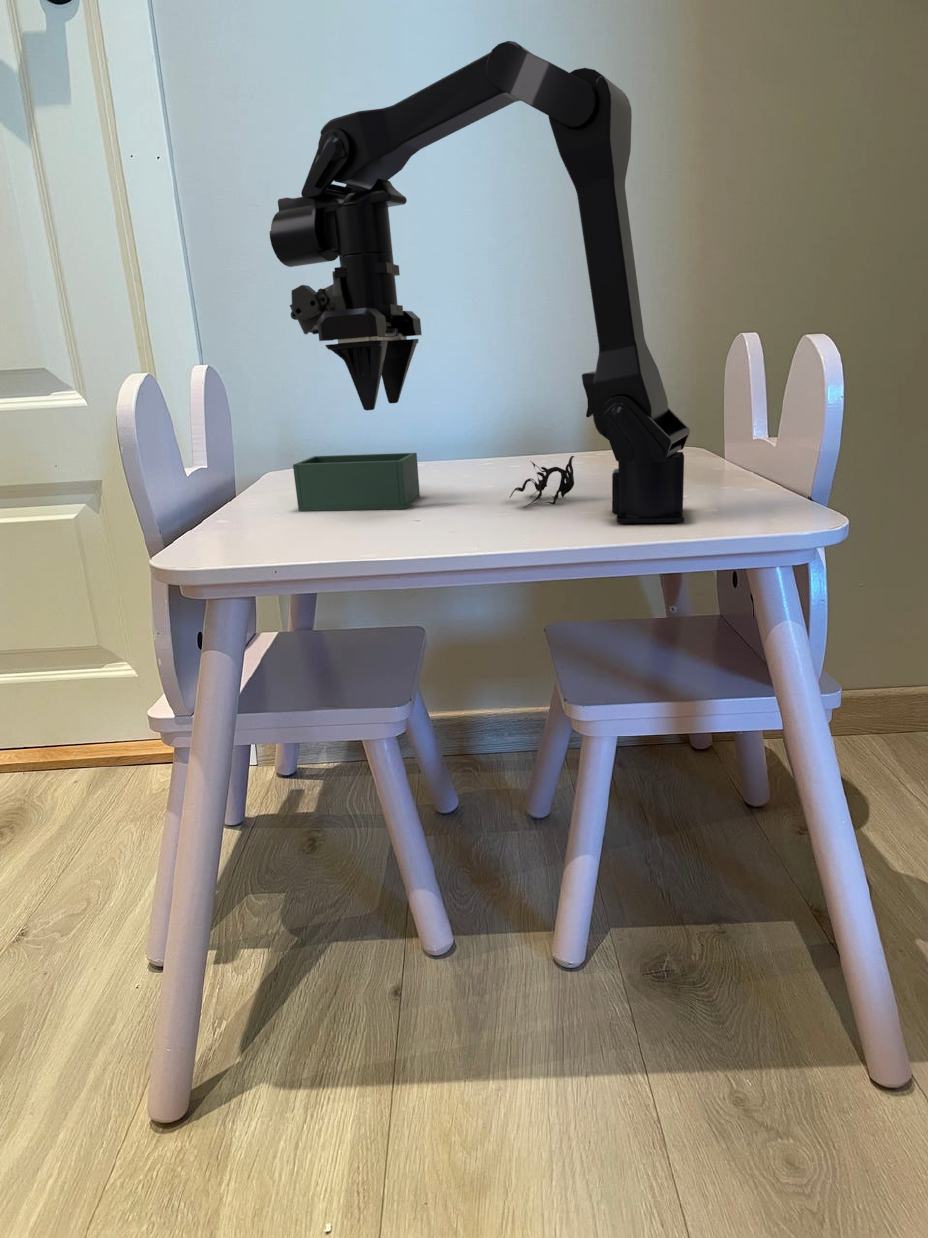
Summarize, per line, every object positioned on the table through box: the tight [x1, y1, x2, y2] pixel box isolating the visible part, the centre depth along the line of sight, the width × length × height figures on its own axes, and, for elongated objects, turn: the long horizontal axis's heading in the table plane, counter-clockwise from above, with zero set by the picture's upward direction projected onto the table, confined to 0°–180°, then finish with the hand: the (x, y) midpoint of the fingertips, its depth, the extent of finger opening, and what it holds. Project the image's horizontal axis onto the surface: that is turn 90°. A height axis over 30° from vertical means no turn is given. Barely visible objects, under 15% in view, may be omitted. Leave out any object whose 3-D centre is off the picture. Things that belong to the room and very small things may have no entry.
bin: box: [292, 452, 421, 512], centre depth 99 cm, size 13×7×6 cm, turn 79°
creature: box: [509, 455, 575, 509], centre depth 94 cm, size 8×5×8 cm
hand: (381, 406), depth 93 cm, fingers open, 9 cm apart
